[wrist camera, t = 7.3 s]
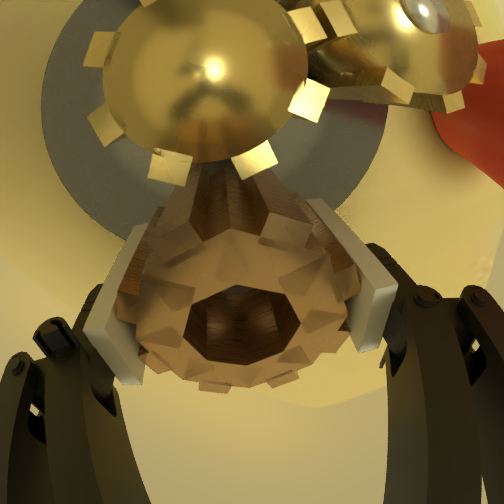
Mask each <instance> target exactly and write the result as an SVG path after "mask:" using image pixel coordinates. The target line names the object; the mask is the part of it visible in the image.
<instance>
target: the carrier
mask: <svg viewBox="0 0 504 504" xmlns="http://www.w3.org/2000/svg"><path fill="white" fill-rule="evenodd" d="M474 26H481V23H480V21H479V18H478V16H477V13H476V11H475V9H474V7H473V5H472V2H470V1H464V0H84V1H83V2H82V3H81V4H80V5H79V7H78V8H77V9H76V10H75V12H74V13H73V15H72V16H71V17H70V19H69V20H68V22H67V23H66V24H65V26H64V28H63V30H62V32H61V33H60V35H59V37H58V39H57V41H56V43H55V45H54V48H53V50H52V53H51V56H50V58H49V61H48V64H47V68H46V72H45V77H44V81H43V87H42V99H41V115H42V128H43V133H44V138H45V142H46V147H47V150H48V153H49V156H50V158H51V161H52V164H53V166H54V168H55V170H56V172H57V174H58V176H59V178H60V180H61V181H62V183H63V185H64V186H65V188H66V189H67V191H68V192H69V193H70V195H71V196H72V197H73V199H74V200H75V201H76V202H77V203H78V205H79V206H80V207H81V208H82V209H83V210H84V211H85V212H86V213H87V214H88V215H89V216H90V217H91V218H93V219H94V220H95V221H97V222H98V223H99V224H100V225H102V226H103V227H104V228H105V229H107V230H109V231H110V232H112V233H114V234H115V235H117V236H119V237H120V238H122V239H124V240H127V239H128V237H129V235H130V233H131V232H132V230H133V228H134V226H135V225H140V224H145V223H149V222H150V220H151V218H152V216H153V215H154V213H155V211H156V209H157V207H158V206H160V207H164V208H165V206H166V204H167V202H168V200H169V198H170V196H171V194H172V192H173V190H174V188H175V186H176V185H180V186H184V187H185V185H186V182H187V180H188V177H189V175H190V172H191V170H192V169H193V168H195V167H197V166H199V165H200V164H202V163H203V164H204V166H205V168H206V169H207V171H208V173H209V175H211V174H213V173H214V172H216V171H218V170H220V169H222V168H224V167H225V168H228V169H232V170H235V171H238V173H239V175H240V177H241V179H242V180H244V179H246V178H248V177H250V176H252V175H254V174H256V173H258V172H260V171H262V170H264V169H266V168H270V169H271V170H272V171H273V173H274V174H275V175H276V176H277V178H278V179H279V180H280V181H281V183H282V184H283V185H284V186H285V188H286V189H287V190H288V192H289V193H290V194H292V193H294V192H298V194H299V195H300V196H301V197H302V198H303V199H304V201H305V200H306V199H316V198H321V199H322V200H323V201H324V202H325V203H326V204H327V205H328V206H329V207H330V208H331V209H332V210H333V211H334V210H335V209H336V208H337V207H339V206H340V205H341V204H342V203H343V202H344V201H345V199H346V198H347V197H348V196H349V195H350V194H351V193H352V191H353V190H354V189H355V188H356V187H357V185H358V184H359V182H360V181H361V179H362V178H363V176H364V175H365V173H366V172H367V170H368V168H369V166H370V164H371V162H372V160H373V158H374V156H375V154H376V152H377V150H378V147H379V144H380V141H381V139H382V136H383V133H384V128H385V123H386V118H387V113H388V105H397V106H405V107H412V108H418V109H424V110H430V111H435V112H440V113H445V114H448V113H451V112H454V111H457V110H460V109H463V108H465V105H464V101H463V96H462V92H461V90H462V89H463V88H464V87H465V86H466V85H467V84H468V83H476V84H483V82H484V77H485V72H486V67H487V63H486V62H485V61H484V59H483V58H482V57H481V56H480V55H479V53H478V41H477V35H476V31H475V27H474ZM251 289H252V287H248V286H243V285H238V284H236V285H234V286H231V287H229V288H227V289H225V290H223V291H221V292H223V293H225V294H230V295H238V294H243V293H246V292H248V291H250V290H251Z"/></svg>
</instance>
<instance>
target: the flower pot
mask: <svg viewBox="0 0 504 504" xmlns="http://www.w3.org/2000/svg"><path fill="white" fill-rule="evenodd" d="M478 53H479V55H480V56H481V57H482V58H483V59H484V61H485V62H486V63H487V67H486V72H485V77H484V82H483V84H476V83H468V84H467V85H466V86H465V87H464V88H463V89H462V90H461V92H462V96H463V101H464V105H465V108H463V109H460V110H457V111H454V112H451V113H448V114H445V113H440V112H435V111H431V115H432V118H433V121H434V124H435V126H436V129H437V131H438V133H439V135H440V136H441V138H442V139H443V141H444V142H445V143H446V144H447V145H448V146H449V147H450V148H451V149H452V150H453V151H455V152H456V153H458V154H459V155H461V156H462V157H464V158H465V159H467V160H468V161H469V162H471V163H472V164H473V165H475V166H476V167H477V168H479V169H480V170H481V171H483V172H484V173H485V174H486V175H488V176H489V177H490V178H491V179H493V180H494V181H495V182H496V183H497V184H499V185H500V186H501V187H502V188H503V189H504V39H503V40H497V41H492V42H487V43H483V44H478Z"/></svg>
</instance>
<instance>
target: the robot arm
mask: <svg viewBox="0 0 504 504" xmlns="http://www.w3.org/2000/svg"><path fill="white" fill-rule="evenodd" d="M305 202H306V203H307V204H308V205H309V207H310V208H311V209H312V210H313V211H314V213H315V214H316V215H317V216H318V218H319V219H320V220H321V221H322V223H323V224H324V225H325V226H326V228H327V229H328V230H329V231H330V233H331V234H332V235H333V236H334V238H335V239H336V240H337V241H338V243H339V244H340V245H341V247H342V248H343V249H344V251H345V252H346V253H347V254H348V256H349V257H350V258H351V260H352V261H353V262H354V264H355V267H356V270H357V274H358V278H359V282H360V286H361V292H360V293H358V294H356V295H354V296H352V297H350V298H348V299H346V300H344V303H345V306H346V309H347V312H348V316H347V318H346V319H345V320H346V322H347V324H348V326H349V328H350V330H351V333H350V337H351V339H352V341H353V343H354V345H355V347H356V349H357V351H358V353H362V352H366V351H369V350H373V349H376V348H379V345H380V342H381V339H382V337H384V339H385V341H386V343H387V344H388V345H387V347H386V350H385V352H384V355H383V357H382V360H381V362H380V367H379V368H383V365H384V363H386V376H387V392H388V455H387V473H386V483H385V493H384V501H383V504H481V490H482V488H481V486H482V477H483V482H484V486H485V491H486V496H487V500H488V504H504V312H503V310H502V309H501V308H500V306H499V305H498V304H497V302H496V301H495V300H494V298H493V297H492V296H491V295H490V294H489V293H488V292H487V291H486V290H485V289H483V288H482V287H480V286H475V285H468V286H466V287H464V289H463V291H462V293H461V295H460V298H442V296H441V295H440V294H439V293H438V292H437V291H436V290H435V289H432V288H430V287H428V286H422V285H416V283H415V282H414V281H413V280H412V279H411V278H410V277H409V275H408V274H407V273H406V272H405V271H404V270H403V269H402V268H401V266H400V265H399V264H397V262H396V261H395V260H394V259H393V258H391V256H390V254H389V253H388V252H387V251H386V250H385V249H384V248H382V247H380V246H378V245H376V244H375V243H369V244H364V243H363V242H362V241H361V240H360V239H359V237H358V236H357V235H356V234H355V233H354V232H353V231H352V230H351V229H350V228H349V227H348V225H347V224H346V223H345V222H344V221H343V220H342V219H341V218H340V217H339V216H338V215H337V214H336V213H335V212H334V211H333V210H332V209H331V208H330V207H329V206H328V205H327V204H326V203H325V202H324V201H323V200H322V199H321V198H316V199H306V200H305ZM148 224H149V223H145V224H140V225H135V226H134V228H133V230H132V232H131V233H130V235H129V237H128V239H127V240H126V242H125V244H124V246H123V247H122V249H121V251H120V253H119V255H118V257H117V258H116V260H115V262H114V264H113V266H112V268H111V270H110V272H109V274H108V276H107V278H106V280H105V282H104V284H98V285H97V286H96V287H95V288H94V289H93V290H92V291H91V292H90V293H89V295H88V297H87V299H86V301H85V304H84V305H83V307H82V309H81V312H80V313H79V315H78V317H77V319H76V322H75V324H74V326H73V328H72V330H71V328H70V327H69V325H68V324H67V322H66V321H65V320H64V319H63V318H61V317H54V318H50V319H48V320H46V321H45V322H44V323H42V324H41V325H40V326H39V327H38V329H37V330H36V331H35V333H34V336H33V340H34V341H35V342H36V344H37V345H38V346H39V348H40V349H41V350H42V352H43V353H44V354H45V355H46V358H43V359H39V360H36V361H34V360H33V359H32V358H31V357H30V355H29V354H28V353H27V352H19V353H17V354H15V355H13V356H12V357H11V359H10V360H9V362H8V363H7V365H6V368H5V371H4V374H3V376H2V379H1V382H0V504H151V502H150V500H149V497H148V495H147V492H146V490H145V487H144V484H143V481H142V479H141V476H140V473H139V470H138V467H137V464H136V461H135V458H134V455H133V451H132V448H131V445H130V441H129V437H128V434H127V430H126V426H125V422H124V418H123V414H122V410H121V405H120V400H119V395H118V392H117V390H116V388H115V387H114V386H113V381H114V377H115V376H116V378H117V379H118V380H119V381H120V383H121V384H122V385H142V381H143V374H144V369H145V364H144V363H143V362H142V361H141V360H140V359H139V358H138V353H139V348H140V343H139V342H138V341H137V340H136V339H135V338H136V324H133V323H129V322H125V321H121V320H118V319H117V290H118V288H119V286H120V283H121V281H122V279H123V276H124V274H125V272H126V270H127V267H128V265H129V263H130V261H131V259H132V257H133V254H134V252H135V250H136V248H137V246H138V244H139V242H140V240H141V238H142V236H143V234H144V232H145V230H146V228H147V226H148ZM475 340H477V341H478V343H479V345H480V346H479V348H478V349H477V351H475V350H474V349H473V348H472V345H473V343H474V342H475ZM31 404H33V405H34V406H35V407H36V408H37V409H38V410H39V413H38V415H37V416H35V415H34V414H33V413H32V412H31V411H30V406H31ZM481 473H482V474H481Z"/></svg>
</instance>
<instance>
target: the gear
mask: <svg viewBox="0 0 504 504" xmlns="http://www.w3.org/2000/svg"><path fill="white" fill-rule="evenodd" d="M236 284H238V285H243V286H248V287H252V289H251V290H250V291H248V292H246V293H243V294H238V295H230V294H225V293H223V292H221V291H223V290H225V289H227V288H229V287H231V286H234V285H236ZM360 292H361V286H360V282H359V278H358V274H357V270H356V267H355V264H354V262H353V261H352V260H351V258H350V257H349V256H348V254H347V253H346V252H345V251H344V249H343V248H342V247H341V245H340V244H339V243H338V241H337V240H336V239H335V238H334V236H333V235H332V234H331V233H330V231H329V230H328V229H327V228H326V226H325V225H324V224H323V223H322V221H321V220H320V219H319V218H318V216H317V215H316V214H315V213H314V211H313V210H312V209H311V208H310V207H309V205H308V204H307V203H306V202H305V201H304V199H303V198H302V197H301V196H300V195H299V194H298V192H294V193H292V194H290V193H289V192H288V190H287V189H286V188H285V186H284V185H283V184H282V183H281V181H280V180H279V179H278V178H277V176H276V175H275V174H274V173H273V171H272V170H271V169H270V168H266V169H264V170H262V171H260V172H258V173H256V174H254V175H252V176H250V177H248V178H246V179H244V180H242V179H241V177H240V175H239V173H238V171H235V170H232V169H228V168H225V167H224V168H222V169H220V170H218V171H216V172H214V173H213V174H211V175H209V173H208V171H207V169H206V168H205V166H204V164H203V163H202V164H200V165H199V166H197V167H195V168H193V169H192V170H191V172H190V175H189V177H188V180H187V182H186V185H185V187H184V186H180V185H176V186H175V188H174V190H173V192H172V194H171V196H170V198H169V200H168V202H167V204H166V206H165V208H164V207H160V206H158V207H157V209H156V211H155V213H154V215H153V216H152V218H151V220H150V222H149V224H148V226H147V228H146V230H145V232H144V234H143V236H142V238H141V240H140V242H139V244H138V246H137V248H136V250H135V252H134V254H133V257H132V259H131V261H130V263H129V265H128V267H127V270H126V272H125V274H124V276H123V279H122V281H121V283H120V286H119V288H118V290H117V319H118V320H121V321H125V322H129V323H133V324H136V338H135V339H136V340H137V341H138V342H139V343H140V348H139V353H138V358H139V359H140V360H141V361H142V362H143V363H144V364H146V365H147V366H148V367H149V368H151V369H152V370H153V371H154V372H156V373H157V374H160V373H163V372H166V371H169V370H172V371H173V372H174V373H175V374H176V375H178V376H179V377H180V378H181V379H183V380H188V381H195V382H199V390H200V391H208V392H217V393H226V394H227V393H228V391H229V390H230V388H231V386H235V387H247V388H250V387H253V386H256V385H259V384H262V383H265V382H267V383H268V384H269V385H270V386H271V387H272V388H275V387H278V386H280V385H283V384H286V383H289V382H291V381H294V380H296V379H299V376H298V372H297V370H300V369H302V368H305V367H307V366H310V365H312V364H313V363H314V361H315V360H316V359H317V357H318V356H319V355H320V354H321V352H322V353H336V352H337V350H338V349H339V348H340V347H341V345H342V344H343V343H344V341H345V340H346V339H347V337H348V336H349V335H350V333H351V330H350V328H349V326H348V324H347V322H346V320H345V319H346V318H347V316H348V312H347V309H346V306H345V303H344V300H346V299H348V298H350V297H352V296H354V295H356V294H358V293H360Z"/></svg>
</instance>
